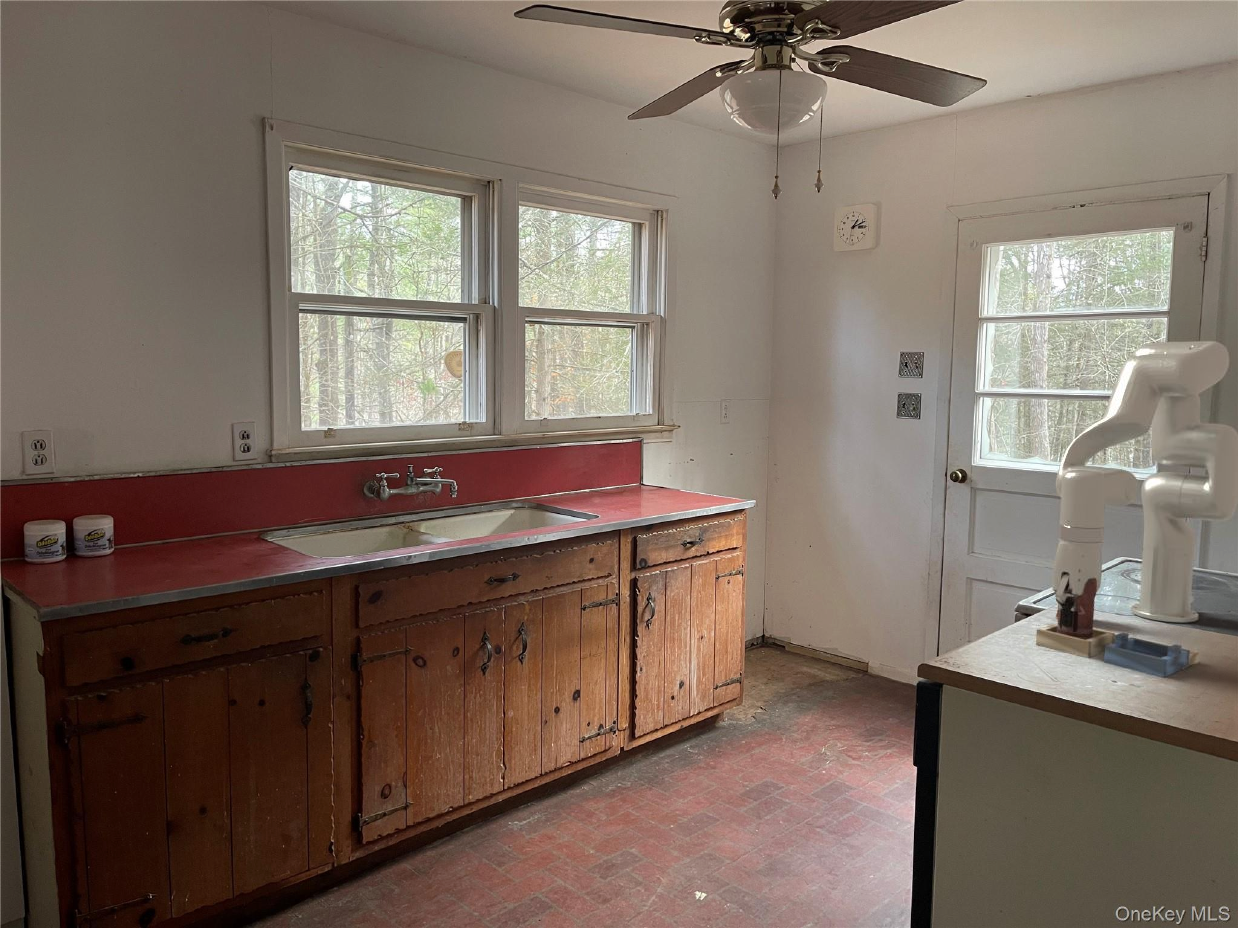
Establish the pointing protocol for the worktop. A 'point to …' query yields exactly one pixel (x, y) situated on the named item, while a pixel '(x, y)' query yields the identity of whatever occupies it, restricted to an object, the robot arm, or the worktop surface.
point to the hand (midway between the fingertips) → (1075, 626)
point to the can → (1082, 612)
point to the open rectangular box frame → (1121, 650)
